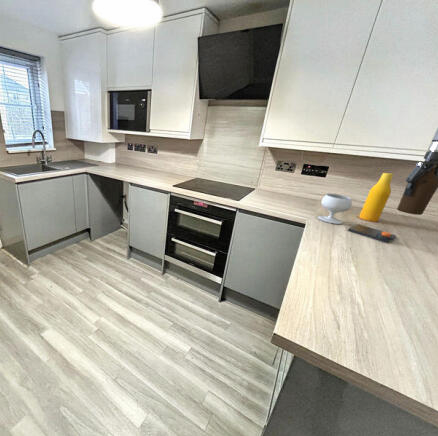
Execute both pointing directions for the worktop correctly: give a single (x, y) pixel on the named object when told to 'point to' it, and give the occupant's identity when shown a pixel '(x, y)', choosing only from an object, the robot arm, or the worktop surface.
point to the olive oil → (420, 194)
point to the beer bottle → (377, 199)
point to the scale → (371, 233)
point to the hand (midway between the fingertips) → (417, 195)
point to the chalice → (335, 206)
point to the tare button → (386, 234)
